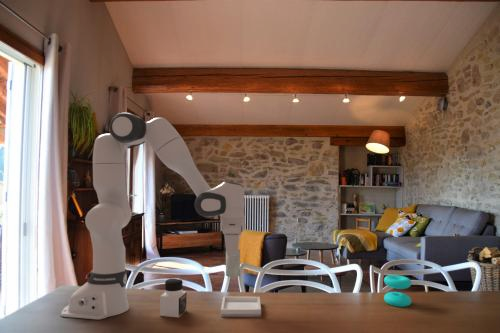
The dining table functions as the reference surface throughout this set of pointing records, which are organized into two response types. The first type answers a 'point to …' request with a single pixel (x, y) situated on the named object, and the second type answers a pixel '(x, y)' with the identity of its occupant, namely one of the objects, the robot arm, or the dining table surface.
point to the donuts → (397, 297)
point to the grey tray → (241, 307)
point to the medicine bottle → (173, 299)
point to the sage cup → (233, 270)
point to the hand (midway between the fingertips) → (232, 263)
